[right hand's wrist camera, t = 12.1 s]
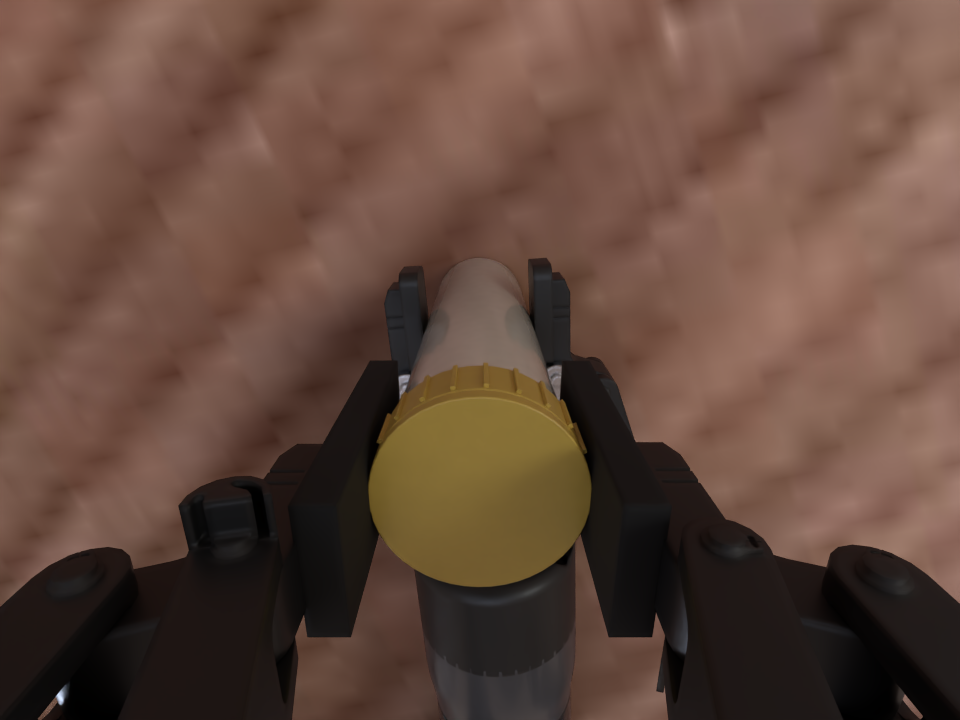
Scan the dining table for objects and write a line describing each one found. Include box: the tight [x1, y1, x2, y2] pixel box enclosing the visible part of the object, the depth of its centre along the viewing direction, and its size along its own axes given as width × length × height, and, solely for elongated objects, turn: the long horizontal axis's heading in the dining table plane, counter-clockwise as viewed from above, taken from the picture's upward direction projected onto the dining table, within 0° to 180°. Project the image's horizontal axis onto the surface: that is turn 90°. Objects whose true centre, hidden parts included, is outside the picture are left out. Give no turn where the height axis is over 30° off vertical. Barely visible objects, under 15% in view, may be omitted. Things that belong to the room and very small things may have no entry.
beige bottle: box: [405, 258, 557, 398], centre depth 19 cm, size 4×4×17 cm
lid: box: [368, 363, 592, 587], centre depth 11 cm, size 5×5×2 cm
